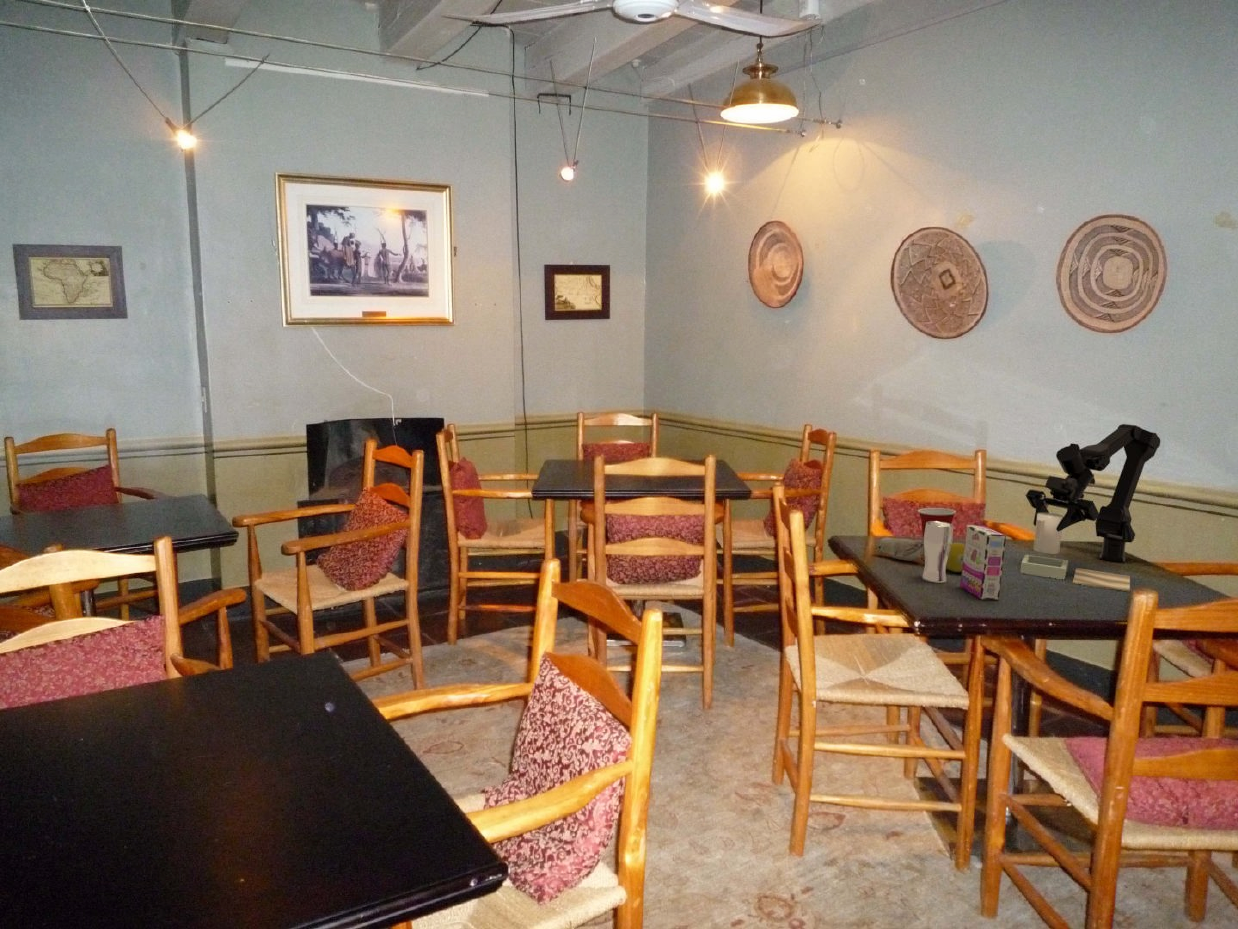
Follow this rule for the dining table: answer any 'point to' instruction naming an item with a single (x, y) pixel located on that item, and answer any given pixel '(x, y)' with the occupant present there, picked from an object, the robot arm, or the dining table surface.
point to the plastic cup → (935, 516)
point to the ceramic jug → (1047, 533)
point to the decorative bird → (901, 548)
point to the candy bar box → (983, 562)
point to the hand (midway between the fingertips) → (1045, 527)
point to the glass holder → (1044, 566)
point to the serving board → (1102, 579)
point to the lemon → (956, 557)
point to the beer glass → (937, 550)
